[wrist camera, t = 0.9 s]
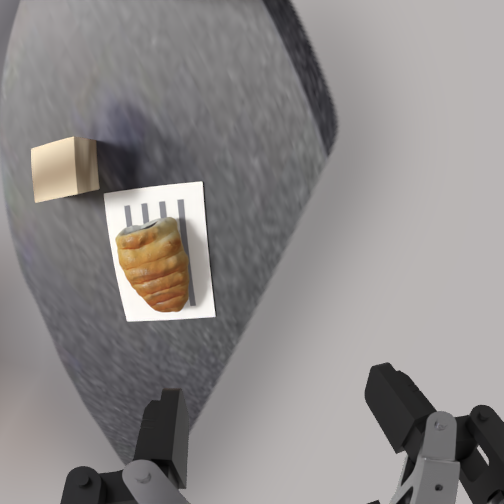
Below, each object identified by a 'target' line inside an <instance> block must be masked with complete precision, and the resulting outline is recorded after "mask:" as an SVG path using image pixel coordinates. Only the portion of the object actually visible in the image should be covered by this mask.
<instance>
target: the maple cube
mask: <svg viewBox="0 0 504 504" xmlns="http://www.w3.org/2000/svg"><path fill="white" fill-rule="evenodd" d="M31 161H32V177H33V188H34V197H35V203H37V202H41V201H46V200H51V199H56V198H60V197H66V196H71V195H76V194H81V193H85V192H89V191H93V190H98V189H99V178H98V165H97V148H96V140H92V139H86V138H80V137H70V138H66V139H62V140H59V141H55V142H52V143H49V144H45V145H42V146H39V147H36V148H33V149H31Z"/></svg>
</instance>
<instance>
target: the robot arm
mask: <svg viewBox="0 0 504 504" xmlns="http://www.w3.org/2000/svg"><path fill="white" fill-rule="evenodd" d="M365 400H366V403H367V404H368V406H369V408H370V410H371V411H372V413H373V415H374V416H375V418H376V420H377V421H378V423H379V425H380V427H381V428H382V430H383V432H384V434H385V435H386V437H387V439H388V440H389V442H390V444H391V446H392V447H393V449H394V451H395V453H396V454H397V453H400V452H402V451H406V452H407V455H406V457H405V461H404V465H403V469H402V472H401V476H400V479H399V483H398V486H397V489H396V492H395V494H394V496H393V497H392V499H391V501H390V503H389V504H455V501H456V495H457V488H458V481H459V480H460V482H461V483H462V485H463V487H464V489H465V491H466V492H467V494H468V496H469V498H470V500H471V501H472V503H473V504H504V422H503V421H502V420H501V419H500V417H499V416H498V415H497V414H496V412H495V411H494V410H493V409H492V408H491V407H489V406H486V405H478V406H476V407H474V408H473V409H472V411H471V413H470V415H466V416H461V417H453V416H452V415H451V414H449V413H447V412H444V411H436V409H435V408H434V407H433V406H432V404H431V403H430V402H429V401H428V399H427V398H426V397H425V396H424V395H423V393H422V392H421V391H419V388H418V387H417V386H416V385H414V382H413V381H412V380H411V379H410V377H409V376H408V375H406V374H404V373H403V372H401V371H396V370H395V369H394V368H393V367H392V365H391V364H390V363H383V364H379V365H375V366H372V367H371V369H370V373H369V377H368V381H367V384H366V388H365ZM142 419H143V421H142V423H141V429H140V431H139V436H138V440H137V445H136V450H135V455H134V459H133V461H132V462H131V463H129V464H128V465H127V466H126V467H125V468H124V469H123V470H120V471H117V472H109V473H100V474H98V473H97V472H96V471H95V470H94V469H92V468H90V467H85V466H81V467H77V468H74V469H73V470H71V471H70V472H69V474H68V476H67V478H66V482H65V486H64V490H63V495H62V499H61V504H190V503H189V502H188V501H187V500H186V499H185V497H183V495H182V494H181V493H180V492H179V491H178V489H186V477H187V457H188V438H189V415H188V410H187V406H186V403H185V399H184V395H183V391H182V389H181V388H180V389H167V388H164V389H163V390H162V395H161V400H160V401H156V400H152V401H151V402H150V403H149V404H148V406H147V407H146V408H145V410H144V414H143V418H142ZM478 445H480V447H481V448H482V450H483V451H484V453H485V454H486V456H487V457H488V459H489V466H488V465H487V463H486V461H485V460H484V458H483V457H482V456H481V454H480V453H479V451H478V450H477V447H478ZM368 504H380V502H379V500H377V501H374V502H371V503H368Z"/></svg>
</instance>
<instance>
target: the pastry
mask: <svg viewBox="0 0 504 504" xmlns="http://www.w3.org/2000/svg"><path fill="white" fill-rule="evenodd" d="M115 241H116V245H117V253H118V259H119V264H120V266H121V268H122V270H123V271H124V273H125V276H126V278H127V280H128V281H129V283H130V284H131V286H132V288H133V289H135V290H136V292H137V293H138V295H139V296H141V297H142V298H143V299H144V300H145V301H146V303H147V304H148V305H149V306H150V307H151V308H153V309H154V310H155V311H158V312H179V311H181V310H182V309H183V307H184V305H185V304H186V302H187V301H188V299H189V291H188V287H189V281H190V279H189V272H188V264H189V258H188V256H187V254H186V253H185V251H184V248H183V244H182V239H181V236H180V234H179V231H178V223H177V221H176V220H175V219H174V218H172V217H166V218H159V219H155V220H152V221H150V222H147V223H145V224H143V225H132V226H130V227H126V228H124V229H123V230H122V231H121V232H120V233H119V234H118V235H117V237H116V238H115Z"/></svg>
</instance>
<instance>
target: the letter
mask: <svg viewBox="0 0 504 504" xmlns="http://www.w3.org/2000/svg"><path fill="white" fill-rule="evenodd" d="M104 201H105V209H106V217H107V224H108V231H109V237H110V243H111V249H112V255H113V260H114V266H115V271H116V276H117V280H118V285H119V290H120V294H121V298H122V303H123V307H124V311H125V315H126V318H127V321H152V320H173V319H190V318H205V317H216V316H215V308H214V299H213V291H212V282H211V272H210V263H209V253H208V242H207V232H206V220H205V208H204V196H203V182H191V183H181V184H172V185H163V186H154V187H146V188H138V189H131V190H124V191H117V192H110V193H104ZM166 217H172V218H174V219H175V220H176V221H177V223H178V231H179V234H180V236H181V239H182V244H183V248H184V251H185V253H186V254H187V256H188V258H189V264H188V272H189V279H190V281H189V287H188V291H189V299H188V301H187V302H186V304H185V305H184V307H183V309H182V310H181V311H179V312H158V311H155V310H154V309H153V308H151V307H150V306H149V305H148V304H147V303H146V301H145V300H144V299H143V298H142V297H141V296H139V295H138V293H137V292H136V290H135V289H133V288H132V286H131V284H130V283H129V281H128V280H127V278H126V276H125V273H124V271H123V270H122V268H121V266H120V264H119V259H118V253H117V245H116V241H115V238H116V237H117V235H118V234H119V233H120V232H121V231H122V230H123V229H124V228H126V227H130V226H132V225H143V224H145V223H147V222H150V221H152V220H155V219H159V218H166Z"/></svg>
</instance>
